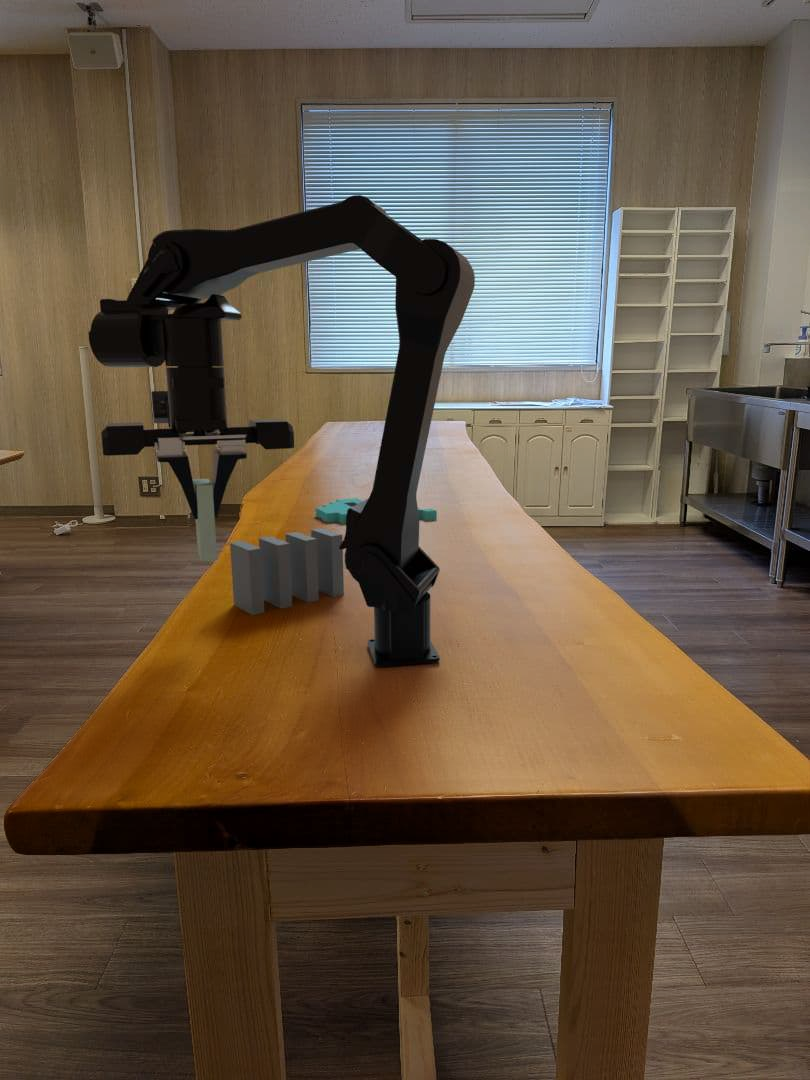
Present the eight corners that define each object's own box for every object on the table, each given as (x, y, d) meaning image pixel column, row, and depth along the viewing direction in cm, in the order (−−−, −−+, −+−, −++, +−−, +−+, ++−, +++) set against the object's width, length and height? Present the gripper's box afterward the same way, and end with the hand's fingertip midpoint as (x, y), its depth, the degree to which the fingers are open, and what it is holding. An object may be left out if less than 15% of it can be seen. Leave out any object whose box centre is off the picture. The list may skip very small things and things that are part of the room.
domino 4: (333, 597, 93) (331, 536, 91) (313, 588, 97) (311, 529, 95) (343, 594, 94) (342, 534, 92) (323, 585, 98) (321, 527, 96)
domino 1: (252, 615, 86) (248, 550, 85) (233, 605, 90) (229, 542, 88) (264, 612, 87) (260, 548, 86) (245, 602, 91) (242, 540, 89)
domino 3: (307, 602, 91) (305, 540, 89) (288, 593, 95) (285, 533, 93) (318, 600, 92) (316, 538, 90) (298, 591, 96) (296, 532, 94)
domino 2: (280, 609, 89) (277, 545, 87) (261, 599, 93) (258, 538, 91) (292, 606, 90) (289, 543, 88) (272, 596, 94) (270, 536, 92)
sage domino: (212, 549, 82) (207, 478, 80) (217, 560, 77) (212, 485, 75) (197, 550, 81) (192, 479, 79) (201, 561, 76) (196, 486, 75)
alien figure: (394, 504, 158) (305, 512, 150) (394, 494, 158) (305, 502, 149) (436, 521, 141) (338, 531, 132) (436, 510, 140) (338, 519, 132)
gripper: (272, 367, 84) (278, 499, 88) (99, 367, 78) (112, 510, 82) (292, 367, 74) (297, 517, 78) (94, 367, 68) (110, 530, 71)
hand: (205, 517), depth 77 cm, fingers closed on sage domino, 2 cm apart
